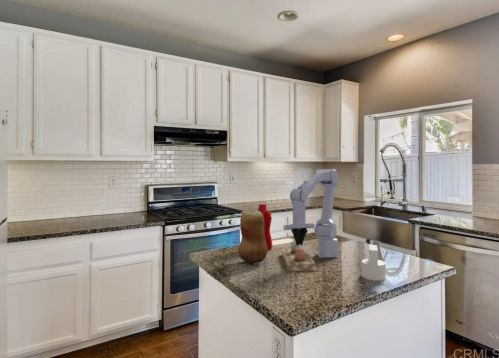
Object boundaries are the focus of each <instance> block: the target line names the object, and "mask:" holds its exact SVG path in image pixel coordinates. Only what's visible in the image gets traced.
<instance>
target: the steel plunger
mask: <svg viewBox="0 0 499 358" xmlns="http://www.w3.org/2000/svg"><path fill="white" fill-rule="evenodd" d="M290 244H291V245H290V246H291V247H290V249H291V252H292V253H295V249H297V248H300V244H299V245H296V242H295V241H292V242H290Z"/></svg>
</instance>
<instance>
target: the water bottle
mask: <svg viewBox="0 0 499 358" xmlns="http://www.w3.org/2000/svg"><path fill="white" fill-rule="evenodd" d="M256 211H260V212H261V213H262V214H263V216H264V233H265V241H266V244H267V248H268V250H267V251H270V250H272V249H273V239H272V235H271V226H272V225H271V224H272V219H273V218H272V213H271V212H270V211H269V210H268V209H267V204H265V203H262V204H261V203H260V204H258V209H257V210H256ZM269 249H270V250H269Z"/></svg>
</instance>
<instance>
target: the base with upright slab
mask: <svg viewBox="0 0 499 358" xmlns="http://www.w3.org/2000/svg"><path fill="white" fill-rule="evenodd" d="M368 255H369V256H368V258H363V259H362V260H361V277H362V278H364V279H366V280H370V281H378V282H379V281H383V280H386V262H383V261H381V260H378V249H377V245H374V244H368Z"/></svg>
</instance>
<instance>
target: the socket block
mask: <svg viewBox="0 0 499 358" xmlns="http://www.w3.org/2000/svg"><path fill="white" fill-rule="evenodd" d="M303 249H304V260H302V261H298V260H295V253H292V252H291V248H285V249H284V248H282V249H281V257H282V259H283V261H285V262H284V264H285V267H286V269H287V271H288V272H297V271H298V272H299V271H303V272H304V271H305V272H308V271H316V262H315V261H314V260H313V258H312V257H311V255H310V254H309V252H308V251H307V249H306V248H303Z"/></svg>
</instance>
